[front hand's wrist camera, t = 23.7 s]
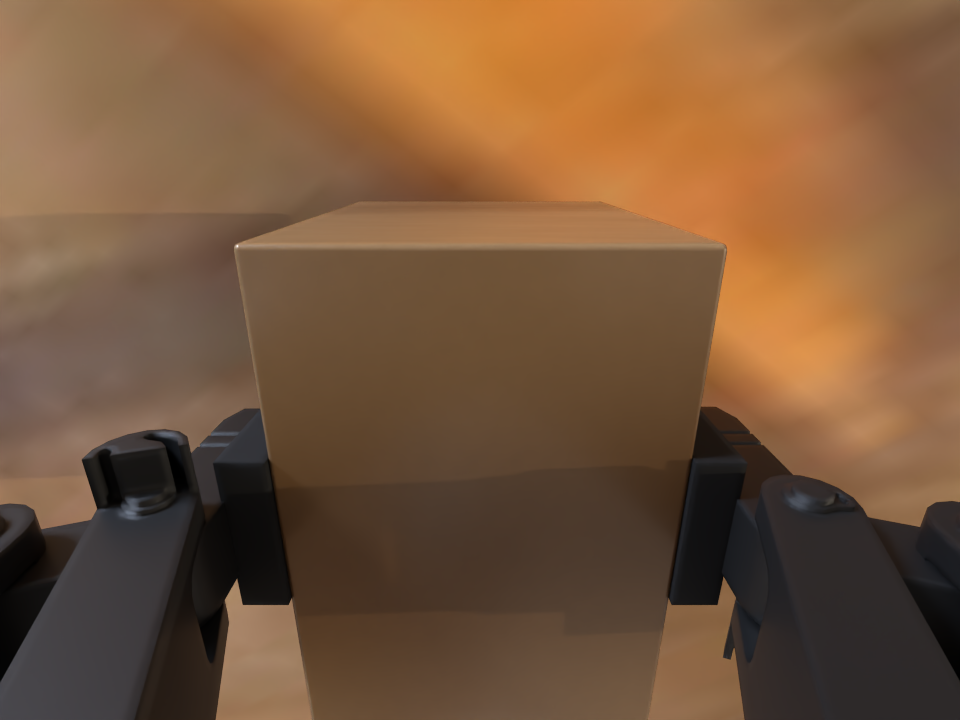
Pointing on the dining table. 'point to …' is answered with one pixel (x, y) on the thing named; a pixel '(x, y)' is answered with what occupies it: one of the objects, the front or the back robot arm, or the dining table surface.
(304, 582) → the block
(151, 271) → the dining table surface
